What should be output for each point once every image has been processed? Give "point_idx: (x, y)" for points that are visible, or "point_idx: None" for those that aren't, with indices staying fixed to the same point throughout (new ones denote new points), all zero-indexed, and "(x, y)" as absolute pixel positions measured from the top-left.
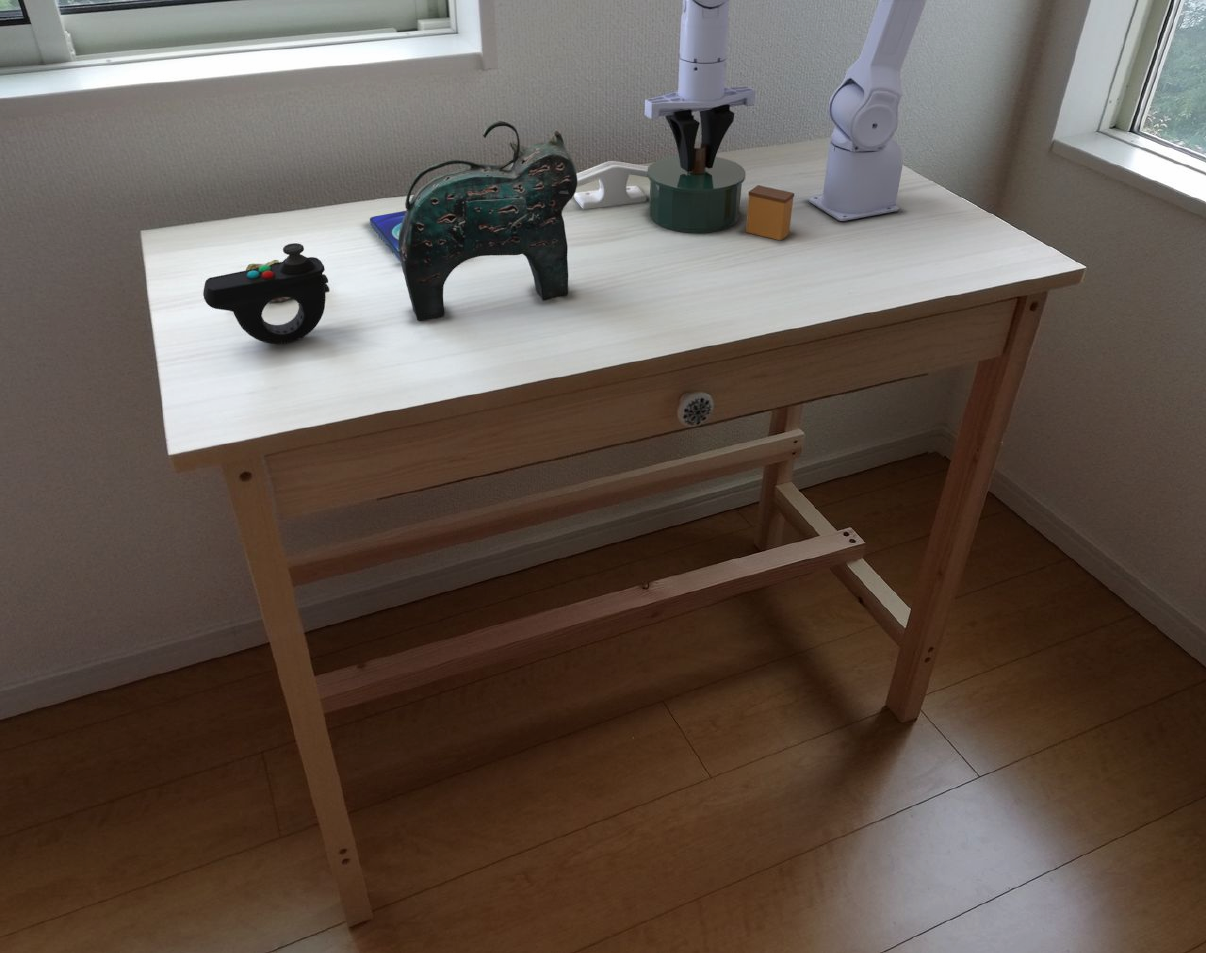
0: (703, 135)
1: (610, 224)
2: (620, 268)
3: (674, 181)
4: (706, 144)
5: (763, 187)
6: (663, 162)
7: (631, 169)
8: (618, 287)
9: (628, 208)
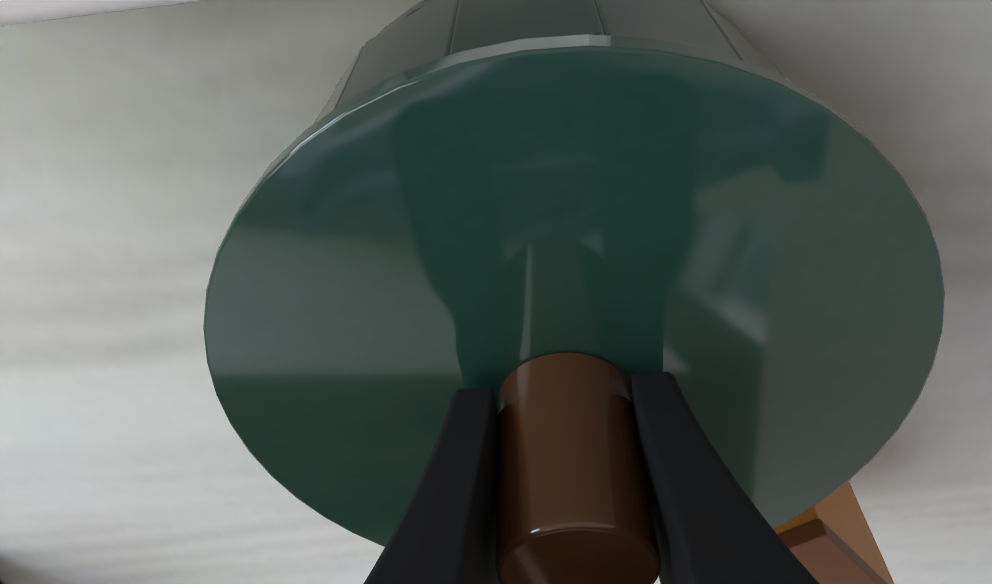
0: (685, 576)
1: (88, 210)
2: (155, 512)
3: (367, 484)
4: (670, 554)
5: (826, 560)
6: (365, 191)
7: (93, 12)
8: (152, 579)
9: (188, 24)
